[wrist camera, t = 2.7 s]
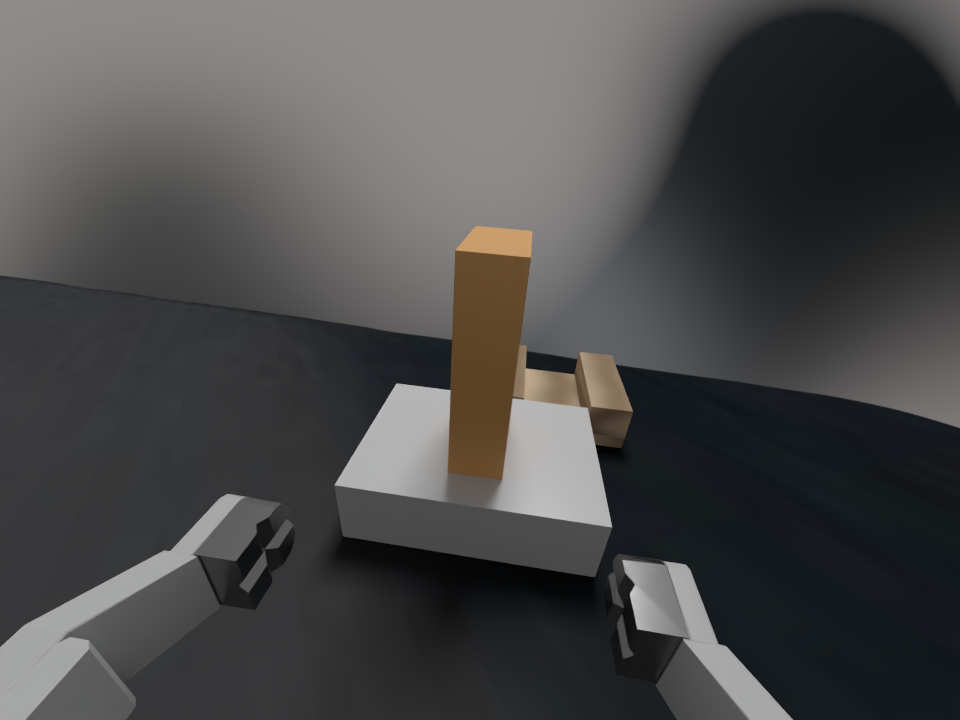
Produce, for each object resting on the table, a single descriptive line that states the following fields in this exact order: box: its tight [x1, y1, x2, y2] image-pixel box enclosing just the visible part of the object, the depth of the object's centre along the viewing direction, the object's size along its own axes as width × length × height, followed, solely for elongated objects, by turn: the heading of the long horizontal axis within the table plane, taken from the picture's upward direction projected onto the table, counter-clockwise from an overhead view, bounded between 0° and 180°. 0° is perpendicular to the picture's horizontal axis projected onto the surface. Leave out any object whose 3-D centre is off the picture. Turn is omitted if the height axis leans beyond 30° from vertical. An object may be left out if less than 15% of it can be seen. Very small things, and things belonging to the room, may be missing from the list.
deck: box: [335, 384, 612, 577], centre depth 24 cm, size 14×10×4 cm
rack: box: [513, 345, 633, 448], centre depth 33 cm, size 11×9×4 cm
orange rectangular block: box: [448, 226, 532, 480], centre depth 21 cm, size 3×6×12 cm, turn 173°
